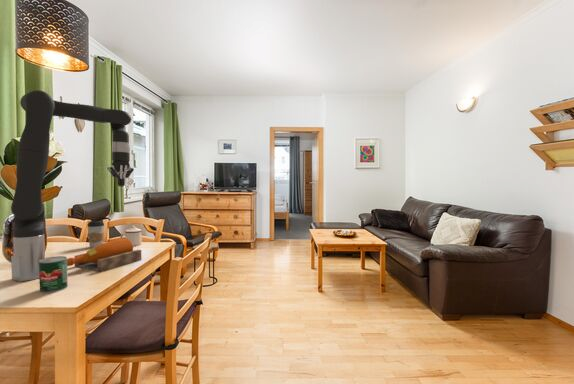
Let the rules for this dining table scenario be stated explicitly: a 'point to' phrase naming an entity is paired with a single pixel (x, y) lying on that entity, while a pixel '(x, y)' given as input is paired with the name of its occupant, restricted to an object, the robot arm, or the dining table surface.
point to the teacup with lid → (133, 236)
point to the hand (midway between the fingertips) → (121, 186)
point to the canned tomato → (53, 274)
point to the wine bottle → (103, 251)
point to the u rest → (111, 261)
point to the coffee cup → (95, 233)
